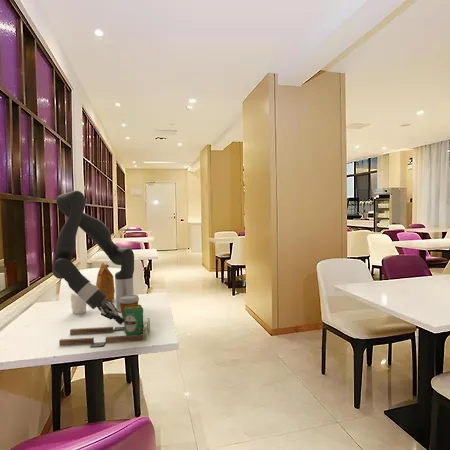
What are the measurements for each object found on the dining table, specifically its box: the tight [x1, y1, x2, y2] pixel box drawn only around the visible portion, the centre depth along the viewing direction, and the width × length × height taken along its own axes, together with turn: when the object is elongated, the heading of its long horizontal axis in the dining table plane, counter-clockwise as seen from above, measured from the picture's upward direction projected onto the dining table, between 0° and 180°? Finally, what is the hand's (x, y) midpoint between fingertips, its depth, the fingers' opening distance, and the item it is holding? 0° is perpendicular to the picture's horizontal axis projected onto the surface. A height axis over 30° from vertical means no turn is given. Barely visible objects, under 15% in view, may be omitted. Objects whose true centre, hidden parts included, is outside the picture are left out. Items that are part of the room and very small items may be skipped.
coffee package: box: [95, 262, 116, 302], centre depth 214 cm, size 10×12×22 cm
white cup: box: [69, 292, 87, 315], centre depth 190 cm, size 8×8×10 cm
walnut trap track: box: [58, 317, 151, 348], centre depth 152 cm, size 22×34×5 cm, turn 95°
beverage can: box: [123, 303, 145, 336], centre depth 154 cm, size 8×8×12 cm
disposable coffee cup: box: [119, 294, 140, 324], centre depth 171 cm, size 10×10×12 cm
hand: (122, 322), depth 152 cm, fingers closed
